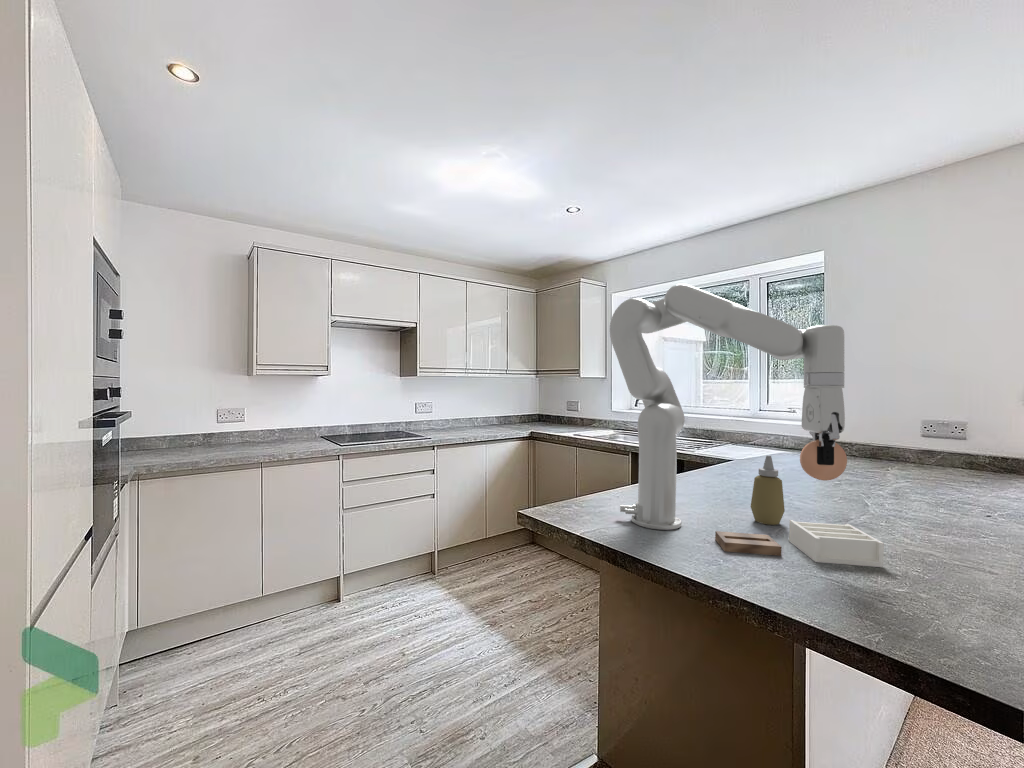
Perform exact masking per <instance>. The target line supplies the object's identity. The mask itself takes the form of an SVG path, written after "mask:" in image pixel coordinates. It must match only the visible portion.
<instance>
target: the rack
mask: <svg viewBox="0 0 1024 768" xmlns="http://www.w3.org/2000/svg"><path fill="white" fill-rule="evenodd" d="M788 525H789V528H788V529H789V530H788V531H789V532H788V533H789V534H788V541H789V542H790V543H791V544H792V545H793V546H795V547H796V548H798V550H800V551H801V552H802V553H803V554H805V555H806V556H807V557H808V558H810V559H811V560H812V561H813V562H814V563H824V564H838V565H847V566H849V565H851V566H862V567H872V568H873V567H875V568H884V556H885V555H884V550H885V547H884V546H885V543H884V542H882V541H880V540H879V539H877V538H876V537H873V536H872V535H870V534H868V533H866V532H864V531H863V530H860V529H859V528H857V527H856V526H854V525H851V524H850V523H845V524H837V523H836V524H835V523H823V522H820V523H819V522H809V521H808V522H805V521H795V520H792V519H789V524H788Z"/></svg>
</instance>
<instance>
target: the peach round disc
mask: <svg viewBox="0 0 1024 768" xmlns="http://www.w3.org/2000/svg"><path fill="white" fill-rule="evenodd" d="M817 446H819V439H818V440H814V441H813V440H811V441H809V442H808V443H806V444H805V445H804V446H803V448H802V450H801V452H800V454H799V462H800V466H801V468H802V470H803V471H804V472H805V474H807V476H810V477H811V478H814V479H816V480H819V481H824V482H826V481H832V480H835V479H838V478H839V477H840V476H842V475H843V473H844V472H845V470H846V468H847V465H848V457H847V453H846V451H845V450H844V448H843V446H841V445H840V444H838V443H837V442H835V447H834V465H819V464H817Z"/></svg>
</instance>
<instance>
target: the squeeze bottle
mask: <svg viewBox="0 0 1024 768" xmlns="http://www.w3.org/2000/svg"><path fill="white" fill-rule="evenodd" d="M783 486H784V485H783V480H782V479H781V478H780V477H779V470H778V469H776V468H774V463H773V458H772V455H766V456H765V459H764V462H763V466H762V467H760V468H758V475H756V476H755V477H754V479H753V487H752V494H751V500H750V501H751V502H750V510H751V512H752V516H753V519H754V521H755V522H757V523H760V524H763V525H767V526H768V525H770V526H772V525H773V526H776V525H780V523H781V521H782V519H783V517H784V514H785V502H784V500H785V499H784V487H783Z"/></svg>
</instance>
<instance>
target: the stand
mask: <svg viewBox="0 0 1024 768" xmlns="http://www.w3.org/2000/svg"><path fill="white" fill-rule="evenodd" d="M714 531H715V533H714V539H715V541H716V543H717V544H718V545H719V546H720V547H721V549H722V550H723V551H724V552H729V553H740V554H753V555H754V554H755V555H768V556H779V557H782V549H783V548H782V545H781V544H779V543H778V542H777V541H776V540H774V538H772V537H771V536H770V535H769V534H760V533H747V532H746V533H745V532H744V533H743V532H732V531H721V530H720V531H717V530H714Z"/></svg>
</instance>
